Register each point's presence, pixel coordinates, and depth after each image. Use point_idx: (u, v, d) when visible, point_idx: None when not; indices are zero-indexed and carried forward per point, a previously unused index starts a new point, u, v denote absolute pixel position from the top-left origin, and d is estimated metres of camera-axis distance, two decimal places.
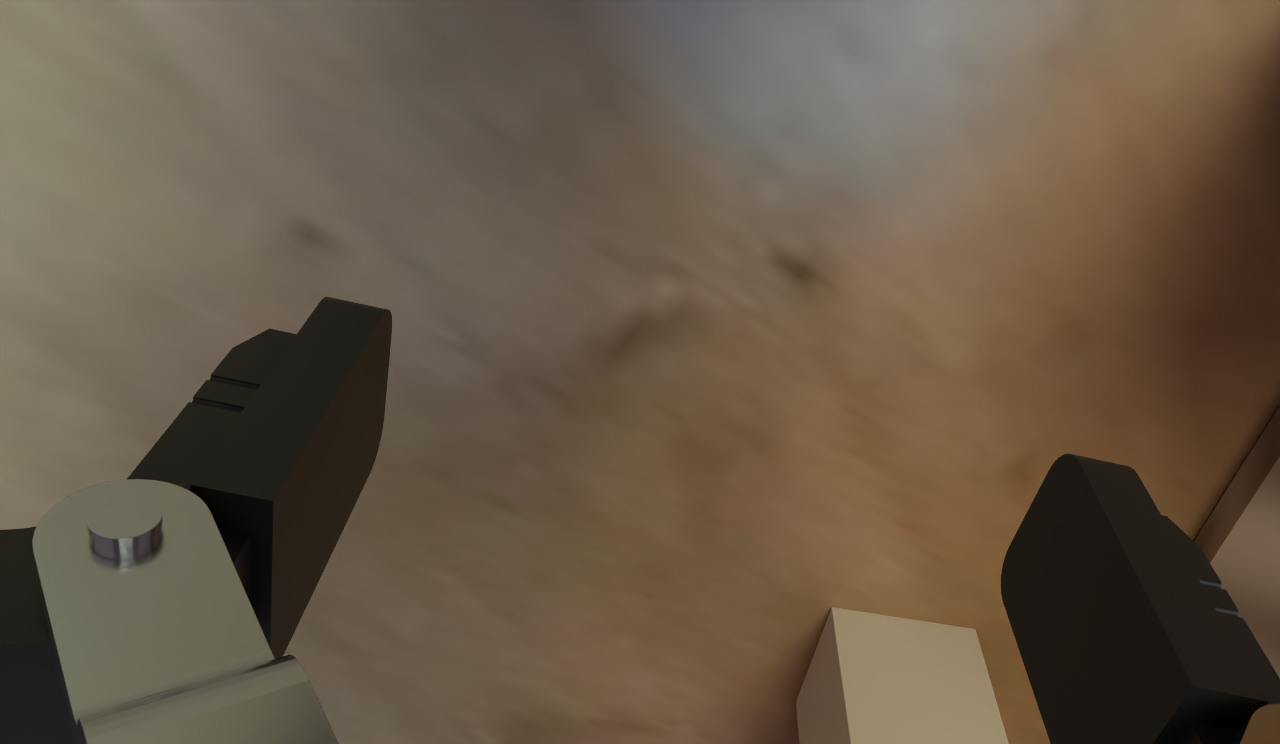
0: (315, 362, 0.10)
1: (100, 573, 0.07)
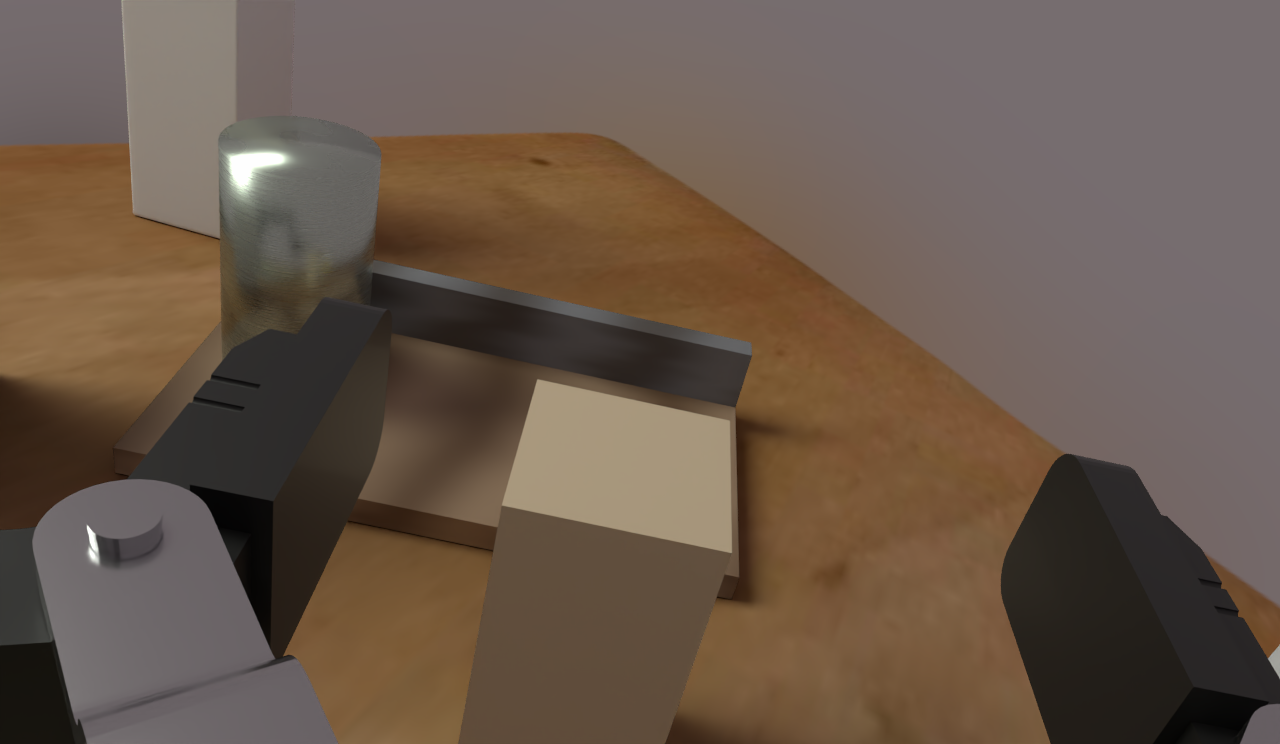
0: (315, 362, 0.10)
1: (99, 573, 0.07)
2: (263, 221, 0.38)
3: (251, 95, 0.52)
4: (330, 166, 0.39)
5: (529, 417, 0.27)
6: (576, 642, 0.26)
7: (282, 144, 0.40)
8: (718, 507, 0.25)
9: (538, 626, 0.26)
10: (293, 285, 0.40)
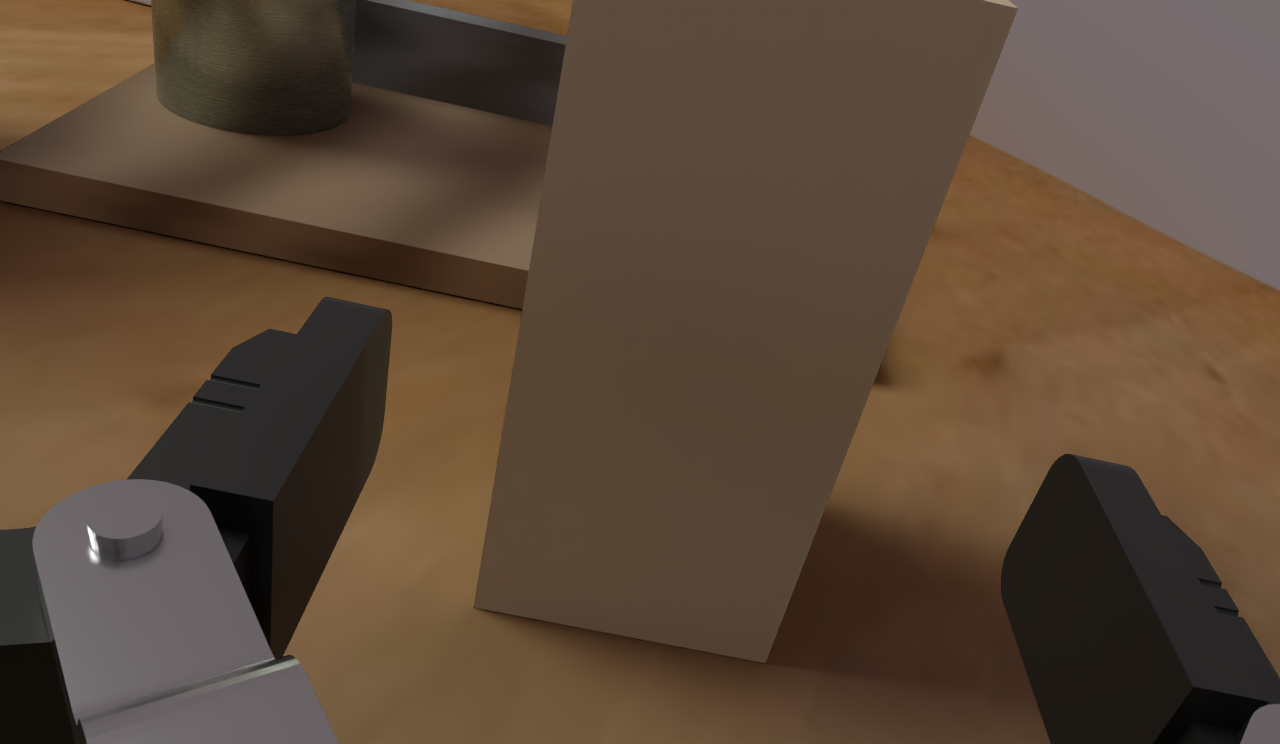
0: (314, 362, 0.10)
1: (99, 573, 0.07)
2: None
3: None
4: None
5: None
6: (708, 239, 0.15)
7: None
8: None
9: (644, 205, 0.15)
10: None
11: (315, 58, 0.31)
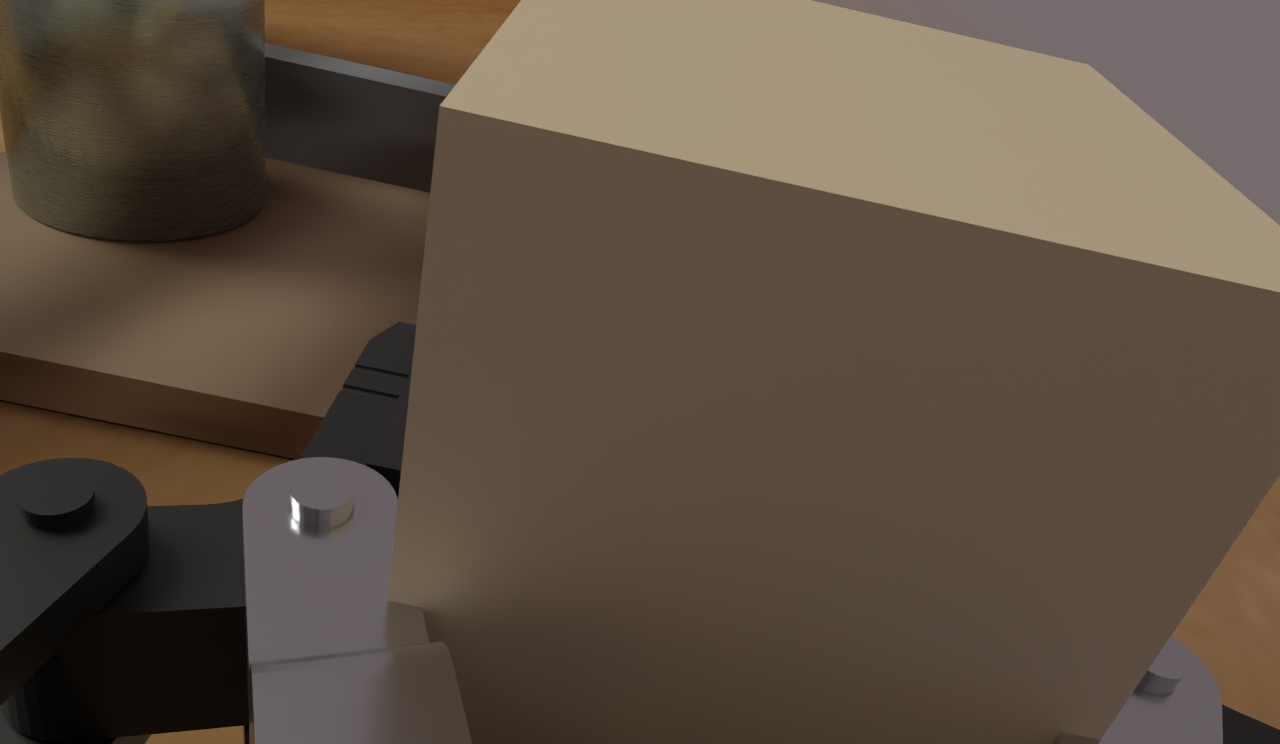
0: None
1: (308, 542, 0.08)
2: None
3: None
4: None
5: None
6: (710, 678, 0.08)
7: None
8: (1218, 200, 0.07)
9: (585, 624, 0.08)
10: (106, 7, 0.22)
11: (209, 143, 0.24)
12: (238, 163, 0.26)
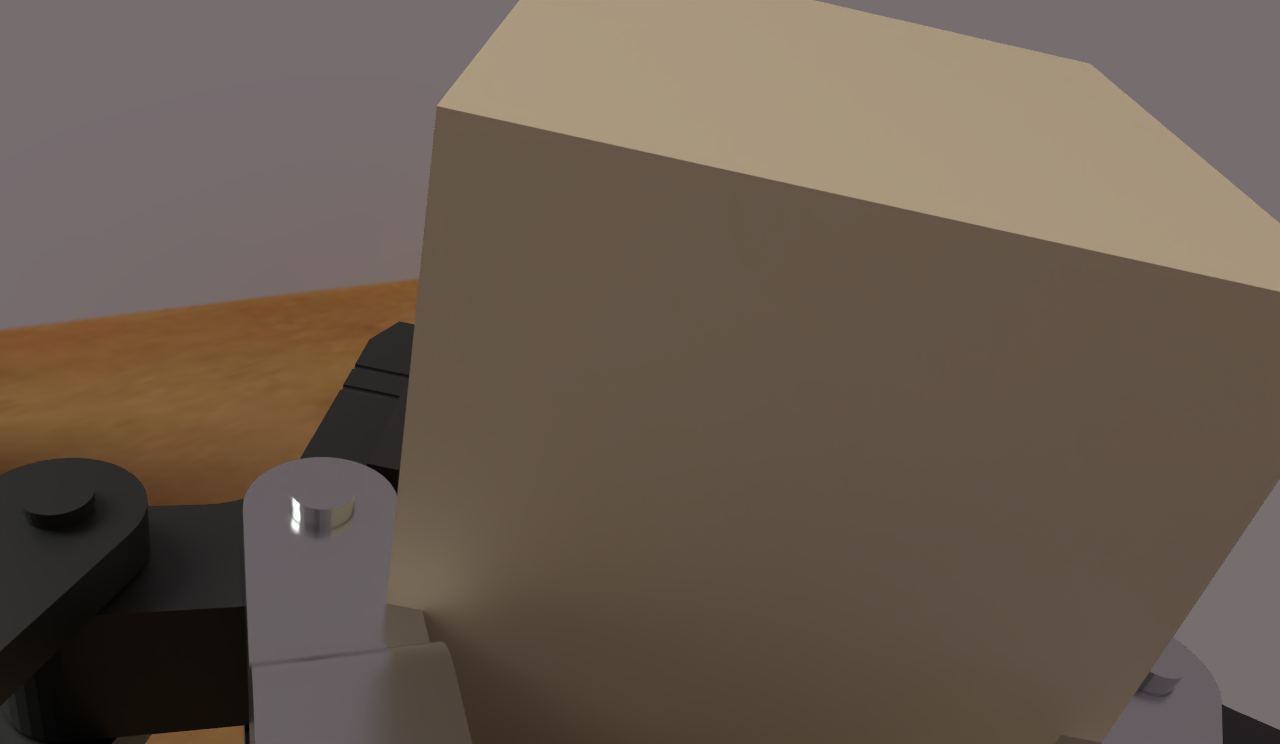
0: None
1: (308, 542, 0.08)
2: None
3: None
4: None
5: None
6: (710, 681, 0.08)
7: None
8: (1219, 200, 0.07)
9: (585, 627, 0.08)
10: None
11: None
12: None
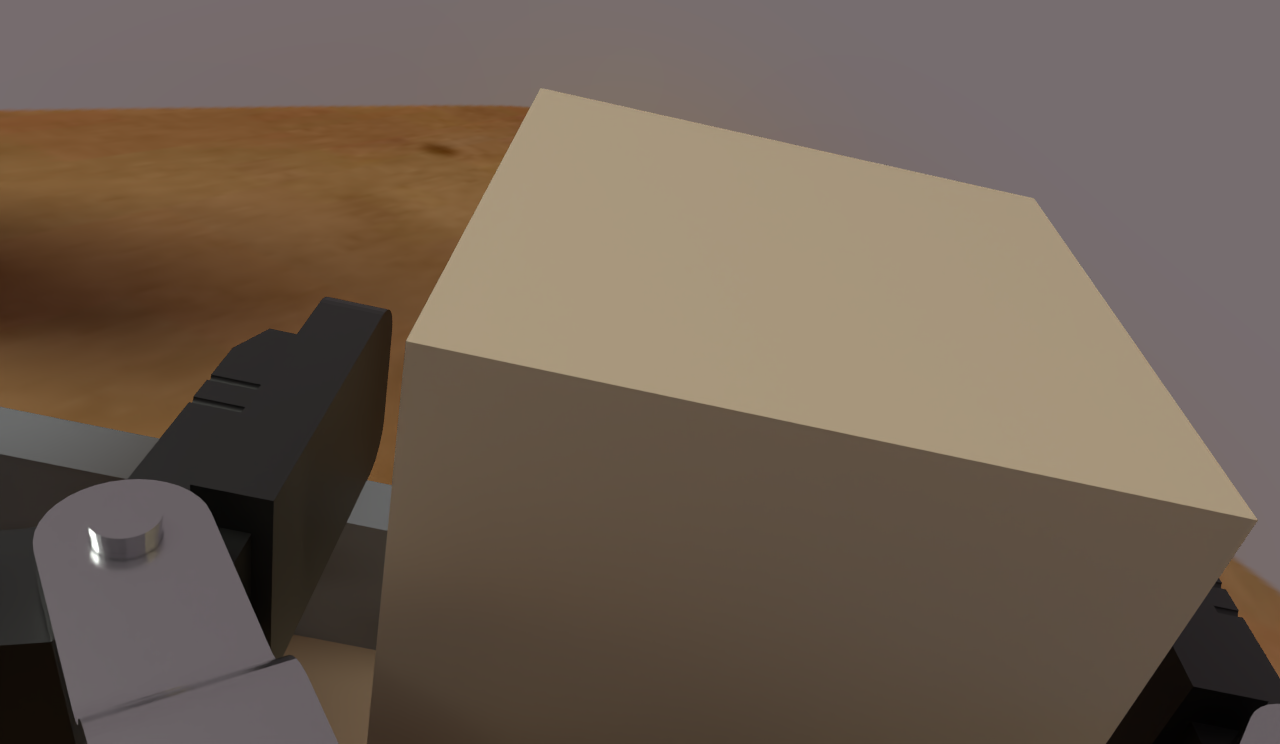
0: (315, 362, 0.10)
1: (99, 572, 0.07)
2: None
3: None
4: None
5: (518, 147, 0.09)
6: None
7: None
8: (1126, 380, 0.08)
9: None
10: None
11: None
12: None
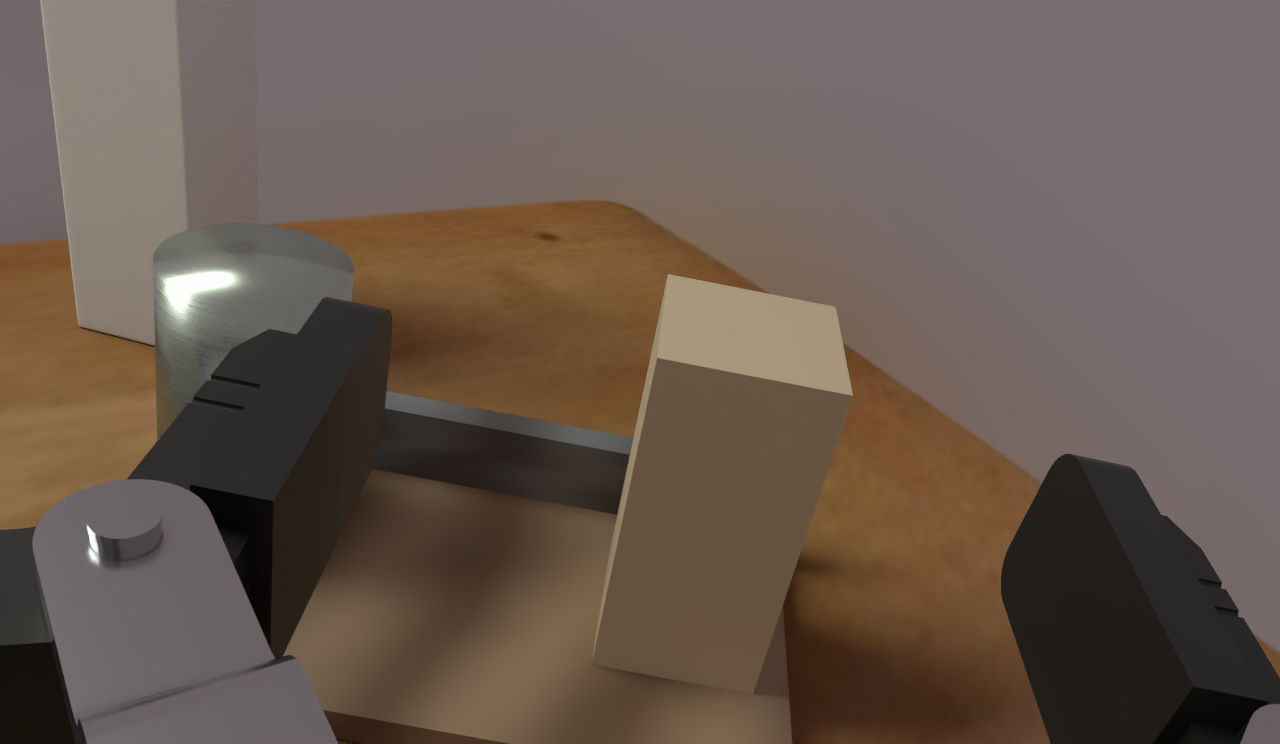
0: (315, 362, 0.10)
1: (100, 573, 0.07)
2: None
3: (206, 189, 0.45)
4: (302, 286, 0.32)
5: (667, 300, 0.31)
6: (715, 487, 0.30)
7: (233, 262, 0.32)
8: (836, 365, 0.30)
9: (683, 472, 0.30)
10: None
11: None
12: None
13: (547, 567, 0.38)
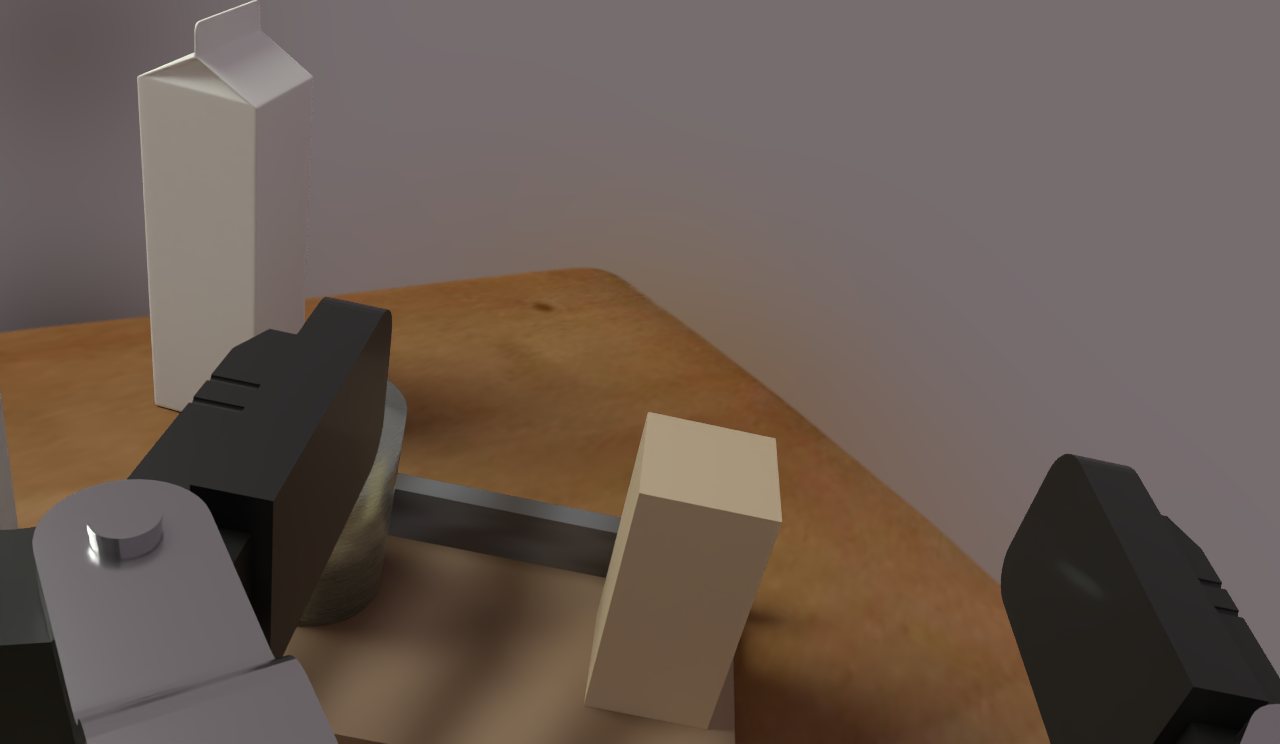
0: (315, 362, 0.10)
1: (99, 573, 0.07)
2: None
3: (268, 300, 0.54)
4: None
5: (647, 437, 0.41)
6: (680, 582, 0.41)
7: None
8: (771, 494, 0.40)
9: (656, 571, 0.40)
10: (343, 533, 0.43)
11: (374, 567, 0.46)
12: (381, 566, 0.47)
13: (549, 624, 0.48)
